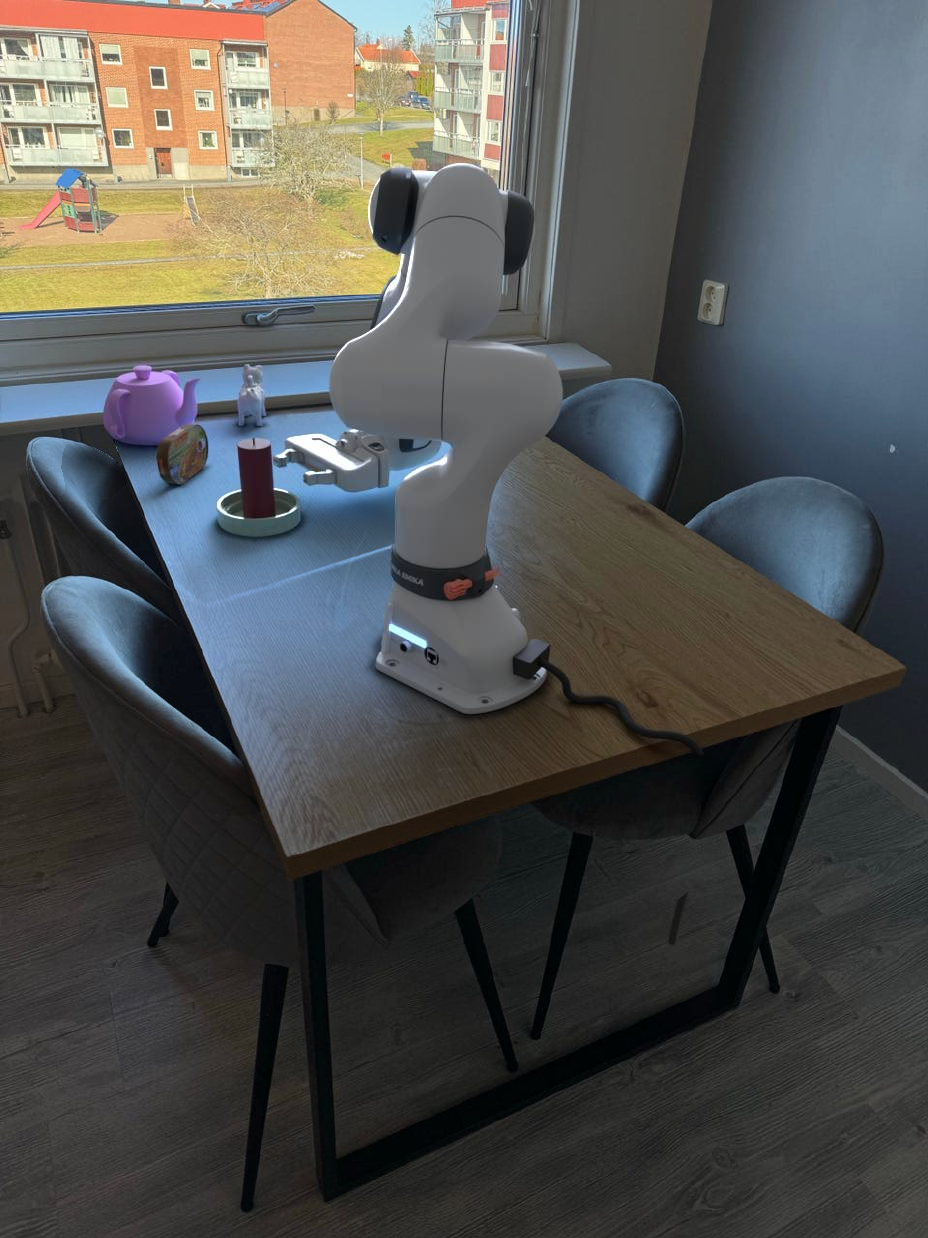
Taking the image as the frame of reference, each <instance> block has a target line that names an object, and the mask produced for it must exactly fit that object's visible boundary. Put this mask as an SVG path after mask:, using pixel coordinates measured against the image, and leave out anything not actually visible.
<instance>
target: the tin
mask: <svg viewBox="0 0 928 1238" xmlns="http://www.w3.org/2000/svg"><path fill="white" fill-rule="evenodd" d="M155 454H156V455H155V456H156V457H155V459H156V464H157V469H158V474H159V477H160V479H161V480H162V481H163V482H164V483H167V484H173V485H174V484H175V485H184V484H185V483H186V482H188V481H189V480H190V479H191V478H193V477H194V476H195V475H196V474H198V473H199V472H200V471H202V470H203V469H204V468H205V466H206V464H207V461H208V457H209V439H208V436H207V433H206V430H205V429H204V427H203V426H202V425H200V424H198V423H194V424H193V425H183V426H181V427H180V428H178V429H177V430H175V431H174V432H172V433H171V434H169V435H168V436H166V437H165V438H164V439H162V440H161V442H160V443H159V445H157V449H156V453H155Z"/></svg>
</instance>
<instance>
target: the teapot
mask: <svg viewBox="0 0 928 1238" xmlns="http://www.w3.org/2000/svg"><path fill="white" fill-rule="evenodd" d="M152 370H153V369H152V366H149V365H136V366H134V367H132V371H131V372H128V373H127V372H126V373H123V374H121V375H119V376H118V377H116V379H115V380H114V382H113V384H112V385H111V387H110V389H109V392H108V394H107V396H106V398H105V401H104V405H103V413H102V422H103V427H104V429H105V430H106V431H107V433H108V434H109V435H110V436H111V438H113V439H115V440H117V441H118V442H122V443H124V444H129V445H135V446H158V445H159V443H160V442H161V440H162V439H164V438H165V437H166V436H168V435H169V434H171V433H172V432H174V431H175V430H177V429H178V428H180V427H181V426H183V425H195V419H196V417H197V414H198V403H197V397H196V386H197V384H198V383H199V382H200V381H201V379H202V378H201V377H200V378H193V379H189V380H187V381H185V384H184V387H183V390H182V388H181V382H180V381H181V380H180V377H179V375H178V374H177V373H176V372H175V371H172V370H162V371H161V372H160V371H152Z"/></svg>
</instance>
